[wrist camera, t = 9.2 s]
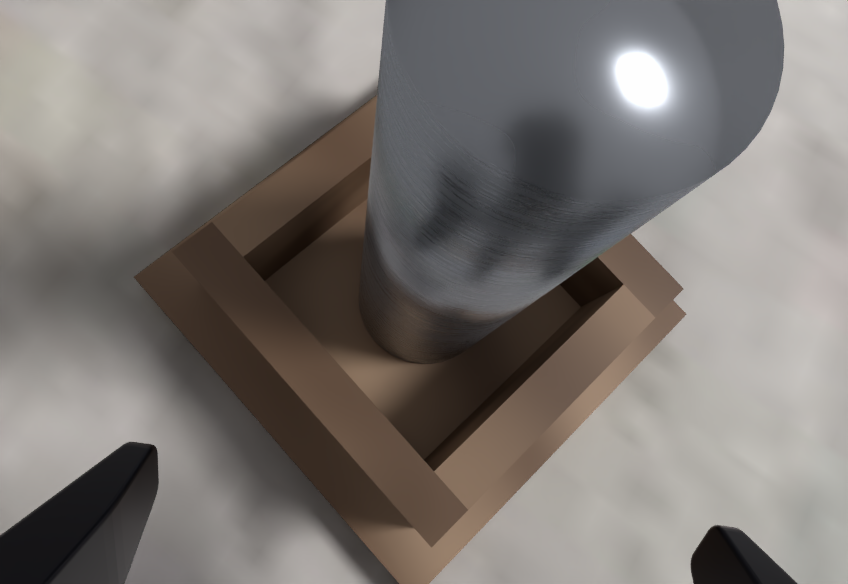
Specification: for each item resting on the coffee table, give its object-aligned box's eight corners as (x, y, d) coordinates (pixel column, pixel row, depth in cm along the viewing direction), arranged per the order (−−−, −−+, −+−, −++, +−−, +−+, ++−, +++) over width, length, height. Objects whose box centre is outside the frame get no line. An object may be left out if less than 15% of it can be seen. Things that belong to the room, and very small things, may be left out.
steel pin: (388, 384, 18) (492, 262, 5) (339, 261, 18) (325, -113, 6) (509, 335, 19) (854, 124, 6) (458, 218, 19) (671, -192, 7)
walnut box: (409, 590, 17) (428, 635, 14) (144, 285, 18) (92, 245, 15) (670, 319, 20) (746, 293, 17) (430, 68, 21) (449, -12, 18)
